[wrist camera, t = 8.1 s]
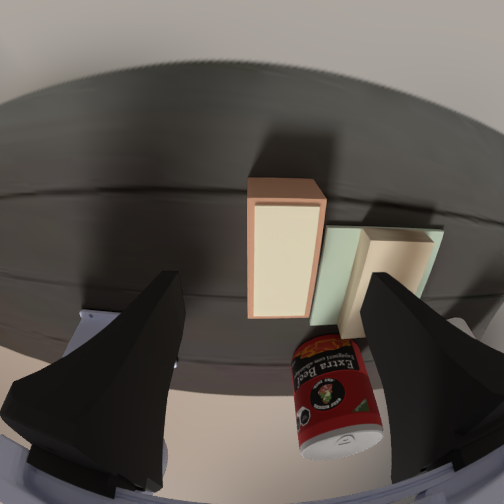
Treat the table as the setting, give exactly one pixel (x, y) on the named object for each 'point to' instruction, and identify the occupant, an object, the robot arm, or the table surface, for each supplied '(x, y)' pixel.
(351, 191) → the table surface
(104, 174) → the table surface
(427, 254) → the beige block
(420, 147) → the table surface
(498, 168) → the table surface
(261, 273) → the brown and cream block
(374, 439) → the canned food
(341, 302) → the mat
